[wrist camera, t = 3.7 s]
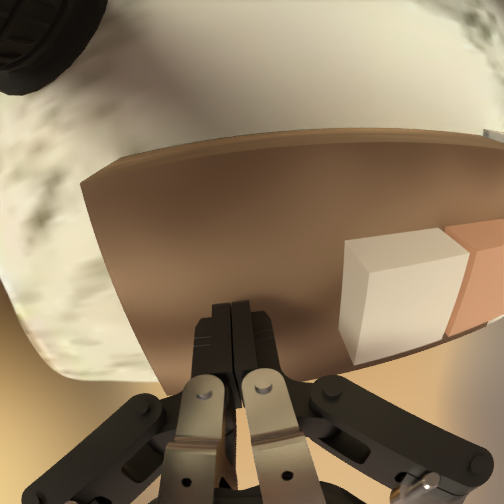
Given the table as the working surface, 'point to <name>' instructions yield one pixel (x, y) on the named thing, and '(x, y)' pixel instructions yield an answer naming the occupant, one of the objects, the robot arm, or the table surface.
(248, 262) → the walnut platform
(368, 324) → the cream tile
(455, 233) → the terracotta tile
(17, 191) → the table surface
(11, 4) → the handle grip
